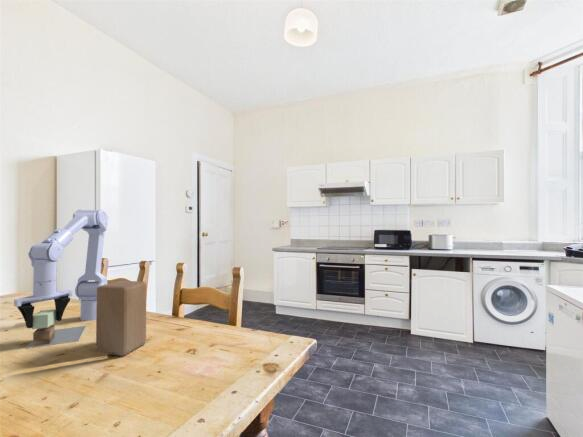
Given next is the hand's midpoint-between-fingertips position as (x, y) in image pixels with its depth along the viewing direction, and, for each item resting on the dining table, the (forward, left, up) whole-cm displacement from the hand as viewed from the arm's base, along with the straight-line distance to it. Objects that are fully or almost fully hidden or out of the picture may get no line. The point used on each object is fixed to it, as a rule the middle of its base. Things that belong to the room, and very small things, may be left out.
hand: (44, 323), depth 94 cm
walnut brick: (0, 0, -6) cm, 6 cm away
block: (-22, +14, -7) cm, 27 cm away
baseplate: (-3, -4, -7) cm, 8 cm away
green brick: (0, 0, 0) cm, 0 cm away
